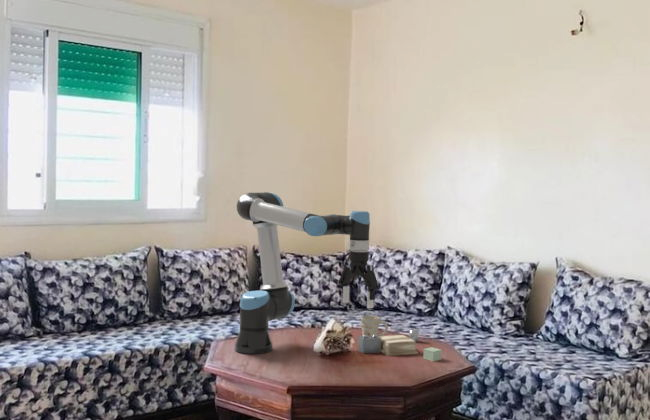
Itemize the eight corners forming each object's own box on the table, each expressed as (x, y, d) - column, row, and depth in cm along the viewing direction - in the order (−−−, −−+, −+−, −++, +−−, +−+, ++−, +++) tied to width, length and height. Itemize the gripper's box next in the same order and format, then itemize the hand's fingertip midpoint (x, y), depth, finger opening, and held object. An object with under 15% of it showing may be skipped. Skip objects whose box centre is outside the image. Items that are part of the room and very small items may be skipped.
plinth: (374, 347, 280) (374, 335, 279) (403, 345, 284) (403, 334, 284) (387, 355, 267) (388, 343, 266) (417, 353, 271) (418, 341, 271)
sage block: (423, 358, 265) (423, 348, 264) (431, 356, 268) (432, 347, 268) (432, 361, 261) (433, 351, 261) (441, 359, 264) (441, 349, 264)
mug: (357, 337, 296) (358, 315, 296) (383, 336, 300) (384, 314, 299) (364, 342, 288) (364, 319, 288) (390, 341, 292) (391, 318, 291)
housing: (358, 350, 275) (358, 334, 274) (375, 349, 277) (376, 333, 277) (362, 353, 270) (363, 336, 270) (380, 352, 273) (381, 336, 272)
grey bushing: (407, 340, 294) (407, 329, 294) (415, 340, 295) (415, 329, 295) (411, 342, 290) (412, 331, 290) (419, 342, 291) (420, 331, 291)
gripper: (330, 248, 263) (329, 301, 264) (375, 254, 244) (373, 311, 245) (344, 247, 268) (343, 299, 269) (389, 253, 249) (387, 309, 250)
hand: (357, 305), depth 257 cm, fingers open, 13 cm apart
